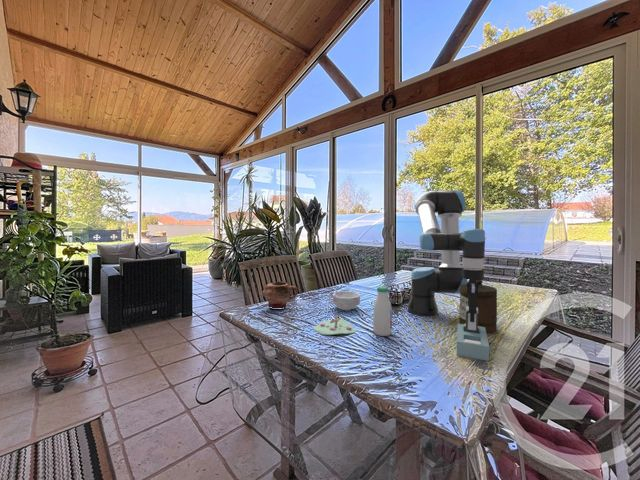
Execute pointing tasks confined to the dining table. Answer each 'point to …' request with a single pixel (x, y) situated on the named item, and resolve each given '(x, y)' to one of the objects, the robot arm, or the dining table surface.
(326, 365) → the dining table surface
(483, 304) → the wooden container
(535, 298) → the dining table surface
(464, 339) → the socket block
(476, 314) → the plug
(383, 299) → the milk bottle
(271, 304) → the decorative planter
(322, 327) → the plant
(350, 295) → the paper bowls
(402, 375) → the dining table surface
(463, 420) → the dining table surface
